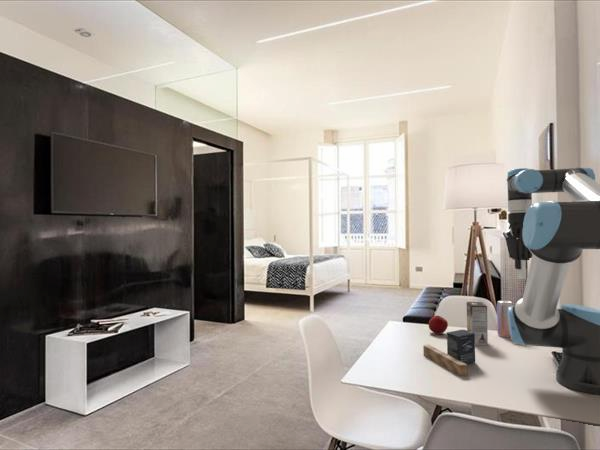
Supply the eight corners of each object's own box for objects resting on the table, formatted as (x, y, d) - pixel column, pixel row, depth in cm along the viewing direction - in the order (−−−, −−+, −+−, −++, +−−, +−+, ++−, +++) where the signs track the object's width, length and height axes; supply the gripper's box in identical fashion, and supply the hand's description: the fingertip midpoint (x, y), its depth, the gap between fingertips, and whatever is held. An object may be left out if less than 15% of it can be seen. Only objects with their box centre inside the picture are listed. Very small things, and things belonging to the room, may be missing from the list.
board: (467, 375, 122) (467, 364, 122) (460, 376, 122) (460, 365, 122) (429, 354, 144) (429, 344, 144) (423, 354, 143) (423, 345, 143)
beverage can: (494, 334, 170) (493, 300, 170) (505, 333, 171) (504, 300, 172) (505, 338, 164) (504, 303, 164) (516, 336, 166) (515, 302, 166)
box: (463, 358, 139) (462, 328, 139) (476, 363, 134) (475, 332, 134) (446, 361, 135) (446, 331, 136) (459, 366, 130) (459, 335, 130)
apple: (439, 336, 167) (439, 318, 167) (425, 332, 174) (425, 315, 174) (451, 334, 171) (451, 316, 171) (436, 330, 178) (436, 313, 178)
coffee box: (466, 338, 164) (466, 301, 164) (482, 339, 163) (481, 301, 163) (471, 344, 155) (471, 305, 155) (488, 345, 154) (488, 305, 154)
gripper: (526, 212, 141) (528, 276, 141) (496, 212, 138) (497, 277, 138) (543, 211, 134) (545, 278, 134) (512, 211, 131) (513, 280, 131)
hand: (521, 278), depth 136 cm, fingers closed
